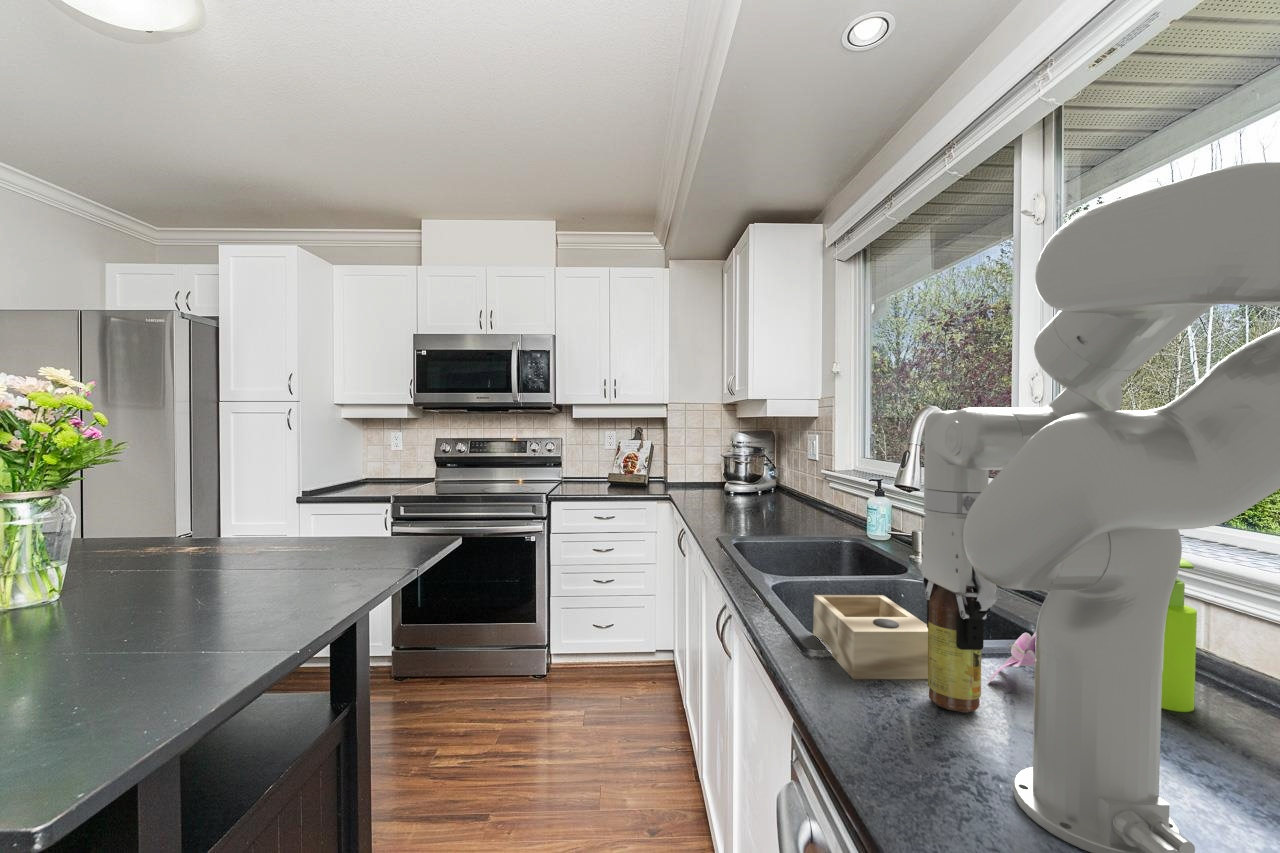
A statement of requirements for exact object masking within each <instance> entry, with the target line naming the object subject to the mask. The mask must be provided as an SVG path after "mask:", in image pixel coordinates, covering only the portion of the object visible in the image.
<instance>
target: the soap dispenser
mask: <svg viewBox="0 0 1280 853" xmlns="http://www.w3.org/2000/svg"><path fill="white" fill-rule="evenodd" d="M1194 568H1195V566H1194V564H1192V563H1191V562H1190V561H1188V560H1187V559H1185V558H1183V557H1181V561H1180V566H1179V569H1189V570H1190V569H1191V570H1194ZM1185 586H1186V584H1185V582H1184V581H1182V580H1180V579H1179V578H1177V577H1176V580H1175V584H1174V587H1173V590H1172V593H1171V597H1170V601H1169V605H1168V611H1167V616H1166V625H1165V634H1164V654H1163V672H1162V698H1161V709H1164V710H1166V711H1167V710H1168V711H1172V712H1179V713H1189V712H1194V710H1195V697H1196V696H1195V695H1196V694H1195V692H1196V691H1195V690H1196V687H1195V686H1196V663H1197V662H1196V657H1197V656H1196V655H1197V652H1196V651H1197V626H1198V625H1197V624H1198V623H1197V619H1198V617H1197V616H1198V611H1197V609H1195V608H1193V607H1190V606H1188V605H1185V590H1186V589H1185V588H1186V587H1185Z"/></svg>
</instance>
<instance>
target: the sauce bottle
mask: <svg viewBox="0 0 1280 853" xmlns="http://www.w3.org/2000/svg"><path fill="white" fill-rule="evenodd" d="M966 591H967V592H973V589H971V588H966ZM966 601H967V605H968V606H969V605H970V604H971V603H972V602H973V601H974V598H966ZM957 617H961V616H960V612H959V607H958V602H957V597H956V594H955V593H952V592H950V591H948V590H946V589H945V588H943V587H941V586H939V587H938V588H937V590H936V591H935V592H934V594H933V595H932V597H931V599H930V601H929V620H928V679H927V687H929V688H928V697H929V700H931V702H932V703H934V704H936V705H937V706H938V707H940V708H943V709H946V710H949V711H953V712H961V713H969V712H970V713H971V712H974V711H976V710H978V709H979V707H980V705H981V703H980V698H981V696H982V649H981V650H961V649H959V648H957V646H956V629H957Z"/></svg>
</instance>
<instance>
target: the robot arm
mask: <svg viewBox="0 0 1280 853" xmlns="http://www.w3.org/2000/svg"><path fill="white" fill-rule="evenodd" d="M1035 268H1036V269H1035V274H1034V276H1035V277H1034V279H1035V287H1036V291H1037V293H1038V295H1039V296H1040V298H1041V300H1042V301H1043V302H1044V303H1045V304H1047V305H1048V306H1049V307H1051V308H1052V309H1055V310H1057V312H1056V314H1055V315H1054V316H1053V317H1052V318H1051V319H1050V320H1049V322H1048V323H1047V324H1046V325H1045V326H1044V327H1043V328H1042V329H1041V331H1039V332H1038V334H1037V336H1036V338H1035V341H1034V344H1033V351H1034V356H1035V360H1036V361H1037V363H1038V365H1039V366H1040V368H1041V369H1042V370H1043V371H1044V372H1045V373H1046V375H1047V376H1049V377H1050V378H1051V379H1053V381H1055V382H1056V383H1057V384H1059V385H1061V386H1062V387H1063V388H1064V389H1063V390H1062V391H1061V392H1060V393H1059V394H1058V395H1057V396H1056V397H1055V398H1054V399H1053V400H1051V401H1050V402H1049V403H1048V404H1046V405H1045V406H1043V407H1022V406H1021V407H1015V406H1014V407H1013V406H1012V407H1007V406H1005V407H1004V406H1003V407H1001V406H998V407H996V406H995V407H992V406H988V407H987V406H984V407H983V406H982V407H981V406H978V407H976V406H975V407H974V406H973V407H972V406H971V407H966V408H965V407H964V408H961V409H958V410H939V411H934V412H931V413H929V414H928V415H927V416H926V418H925V420H924V421H925V422H924V459H923V461H924V462H923V464H924V465H923V466H924V468H923V473H924V475H923V479H924V480H923V513H924V519H923V520H924V521H923V527H922V528H923V529H922V540H921V564H920V565H919V570H920V573H921V577H922V579H923V582H922V583H923V584H924V587H925V593H924V594H925V598H926V624H927V628H928V620H929V601H930V599H931V597H932V595H933V594H934V592H935V591H936V590H937V588H938V587H939V586H941V587H943V588H945V589H946V590H948V591H950V592H952V593H955V594H956V597H957V602H958V607H959V612H960V616H961V617H957V629H956V646H957V648H959V649H961V650H981V651H982V650H983V649H984V637H985V636H984V630H985V629H984V626H985V624H984V623H985V620H986V619H987V617H988V616H987V615H988V613H989V612H990V610H991V608H992V607H993V606H994V604H996V602H997V601H998V597H997V595H996V592H997V586H999V587H1001V588H1004V589H1005V588H1006V589H1010V590H1016V591H1018V590H1019V591H1049V592H1048V593H1047V595H1046V597H1045V598H1044V601H1043V603H1042V605H1041V607H1040V609H1039V613H1038V616H1037V622H1036V626H1035V628H1036V630H1035V632H1036V643H1035V666H1034V683H1033V684H1034V685H1033V686H1034V691H1033V694H1034V695H1033V725H1032V726H1033V727H1032V728H1033V730H1032V731H1033V734H1032V736H1033V737H1032V767H1027V768H1025V769H1022V770H1020V771H1019V772H1018V773H1017V774H1016V775H1015V777H1014V779H1013V796H1014V799H1015V800H1016V802H1017V804H1018V805H1019V807H1020V808H1021V809H1022V810H1023V811H1024V812H1025V814H1026V815H1027V816H1028V817H1029V818H1031V820H1032V821H1034V822H1035V823H1036V824H1037V825H1039V826H1040V827H1042V828H1043V829H1045V830H1046V831H1047V832H1049V833H1050V834H1052V835H1053V836H1056V837H1057V838H1059V839H1061V840H1062V841H1064V842H1066V843H1068V844H1070V845H1073V846H1074V847H1077V848H1079V849H1080V850H1083V851H1086V852H1089V853H1195V852H1196V847H1195V845H1194V843H1193V842H1192V841H1191V840H1189V839H1187V838H1186V837H1185V836H1183V835H1182V834H1181V831H1180V829H1179V827H1178V825H1177V824H1176V823H1175V822H1174V820H1173V819H1172V818H1171V817H1170V803H1169V802H1167V801H1166V800H1164V799H1163V798H1162V797H1161V796H1160V769H1161V768H1160V765H1161V762H1160V761H1161V732H1162V729H1161V728H1162V727H1161V726H1162V708H1161V698H1162V672H1163V654H1164V634H1165V625H1166V616H1167V611H1168V605H1169V601H1170V597H1171V593H1172V590H1173V587H1174V584H1175V580H1176V578H1177V576H1178V573H1179V571H1180V570H1179V569H1180V568H1179V566H1180V561H1181V558H1182V554H1183V552H1182V549H1183V547H1182V546H1183V545H1182V539H1181V532H1180V531H1179V530H1181V531H1182V530H1195V529H1205V528H1209V527H1213V526H1215V527H1216V526H1218V525H1220V524H1224V523H1226V522H1229V521H1230V520H1233V519H1234V518H1236V517H1238V516H1239V515H1241V514H1243V513H1245V512H1246V511H1248V509H1249V510H1250V508H1252V507H1254V506H1255V505H1256V504H1258V503H1259V502H1261V501H1263V500H1264V499H1266V498H1267V497H1269V496H1271V495H1272V494H1274V493H1275V492H1277V491H1278V490H1280V326H1279V327H1276V329H1273V330H1271V331H1268V332H1267V333H1264V334H1263V335H1261V336H1260V337H1257V338H1255V339H1254V340H1252V341H1250V342H1248V343H1246V344H1243V345H1242V346H1241V347H1239V348H1238V349H1236V350H1234V351H1233V352H1231V353H1230V354H1229V355H1227V356H1226V357H1224V358H1223V359H1222V360H1220V361H1219V362H1218V363H1216V364H1215V365H1214V366H1213V367H1212V368H1211V369H1209V371H1208V372H1207V373H1206V374H1205V375H1204V376H1203V377H1202V378H1201V379H1200V380H1198V381H1197V382H1196V383H1195V384H1193V386H1191V387H1190V388H1188V389H1187V390H1186V391H1185V392H1183V393H1182V394H1181V395H1180V396H1178V397H1177V398H1176V399H1174V400H1172V401H1171V402H1169V403H1167V404H1166V405H1162V406H1160V407H1157V408H1156V407H1155V408H1152V409H1151V408H1150V409H1144V410H1121V406H1122V403H1123V387H1122V384H1123V382H1125V381H1126V380H1127V379H1128V378H1129V377H1130V376H1132V375H1133V374H1134V373H1135V372H1137V371H1138V370H1139V369H1140V368H1141V367H1142V366H1144V365H1145V363H1147V362H1148V361H1149V360H1150V359H1151V358H1152V357H1154V356H1156V355H1157V353H1160V351H1161V350H1162V349H1163V348H1165V347H1166V346H1167V345H1169V343H1171V342H1172V341H1173V340H1174V339H1175V338H1177V337H1178V336H1179V335H1180V334H1182V333H1183V332H1184V331H1185V330H1187V329H1188V328H1189V327H1190V326H1191V325H1192V324H1193V323H1195V321H1197V320H1198V319H1199V318H1201V317H1202V315H1203V314H1205V313H1206V312H1207V311H1209V310H1210V309H1211V308H1212V307H1213V306H1215V305H1237V306H1238V305H1239V306H1240V305H1242V306H1268V307H1270V306H1273V307H1274V306H1275V307H1280V162H1277V161H1273V162H1272V161H1271V162H1270V161H1269V162H1253V163H1244V164H1239V165H1233V166H1228V167H1223V168H1219V169H1215V170H1211V171H1207V172H1203V173H1199V174H1197V175H1194V176H1190V177H1187V178H1183V179H1180V180H1177V181H1174V182H1170V183H1169V184H1164V185H1161V186H1159V187H1155V188H1151V189H1148V190H1144V191H1142V192H1137V193H1134V194H1131V195H1128V196H1124V197H1121V198H1117V199H1115V200H1112V201H1108V202H1105V203H1101V204H1099V205H1095V206H1094V207H1091V208H1089V209H1087V210H1085V211H1082V212H1081V213H1079V214H1077V215H1075V216H1074V217H1072V218H1071V219H1069V220H1068V221H1066V223H1064V224H1062V226H1061V227H1059V228H1058V229H1057V231H1055V233H1054V234H1053V235H1052V236H1051V237H1050V238H1049V239H1048V242H1046V244H1045V245H1044V247H1043V249H1042V251H1041V252H1040V254H1039V257H1038V260H1037V262H1036V266H1035ZM989 471H999V472H998V473H997V474H996V476H995V477H994V478H993V479H992V480H991V481H990V482H989V473H990V472H989ZM966 588H971V589H972V592H967V591H966ZM966 598H974V601H973V602H972V603H971V604H970V605H969V606H968V605H967V601H966Z"/></svg>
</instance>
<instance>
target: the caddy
mask: <svg viewBox="0 0 1280 853" xmlns="http://www.w3.org/2000/svg"><path fill="white" fill-rule="evenodd" d="M812 618H813V622H812V623H813V624H812V625H813V629H812V635H813V636H814V637H815V636H816V637H818V638H820V639H822V640H821V641H822V642H824V644H825V645H827V647H828V648H829V649H830V650H831V652H832V655H831V657H833V659H834V660H835V661H836V662H837V664H839V665H840V666H841V668H842V669H843V670H844V671H845V672H846V673H847V674H848V675H849V676H850V678H852V680H928V628H927V623H925V622H923V621H922V620H921V619H919V618H918V617H916V616H915V615H913V614H912V613H910V612H909V611H908V610H906V609H905V608H903V607H901V606H900V605H898V604H897V603H895V602H894V601H893V600H892V599H890V598H888V597H887V596H886V595H884V594H881V595H880V594H855V595H854V594H813V616H812ZM816 637H815V638H816Z"/></svg>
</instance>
